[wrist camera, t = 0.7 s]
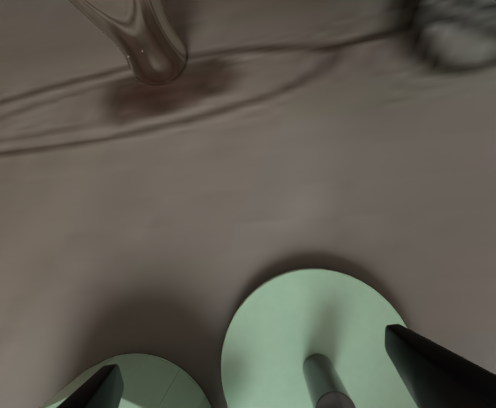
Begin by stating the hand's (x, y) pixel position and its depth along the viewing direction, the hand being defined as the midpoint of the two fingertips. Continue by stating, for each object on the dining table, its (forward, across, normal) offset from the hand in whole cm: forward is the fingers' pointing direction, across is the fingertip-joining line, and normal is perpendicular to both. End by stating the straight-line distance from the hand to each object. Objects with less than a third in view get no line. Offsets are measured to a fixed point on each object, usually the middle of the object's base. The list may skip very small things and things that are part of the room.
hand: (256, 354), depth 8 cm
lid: (+9, -5, +12) cm, 16 cm away
